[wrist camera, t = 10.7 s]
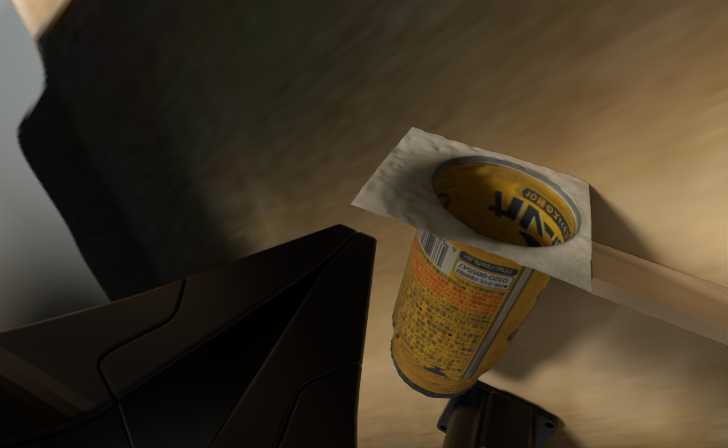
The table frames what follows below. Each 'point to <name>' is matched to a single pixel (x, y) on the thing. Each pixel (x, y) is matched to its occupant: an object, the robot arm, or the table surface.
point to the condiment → (473, 252)
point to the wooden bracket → (660, 292)
